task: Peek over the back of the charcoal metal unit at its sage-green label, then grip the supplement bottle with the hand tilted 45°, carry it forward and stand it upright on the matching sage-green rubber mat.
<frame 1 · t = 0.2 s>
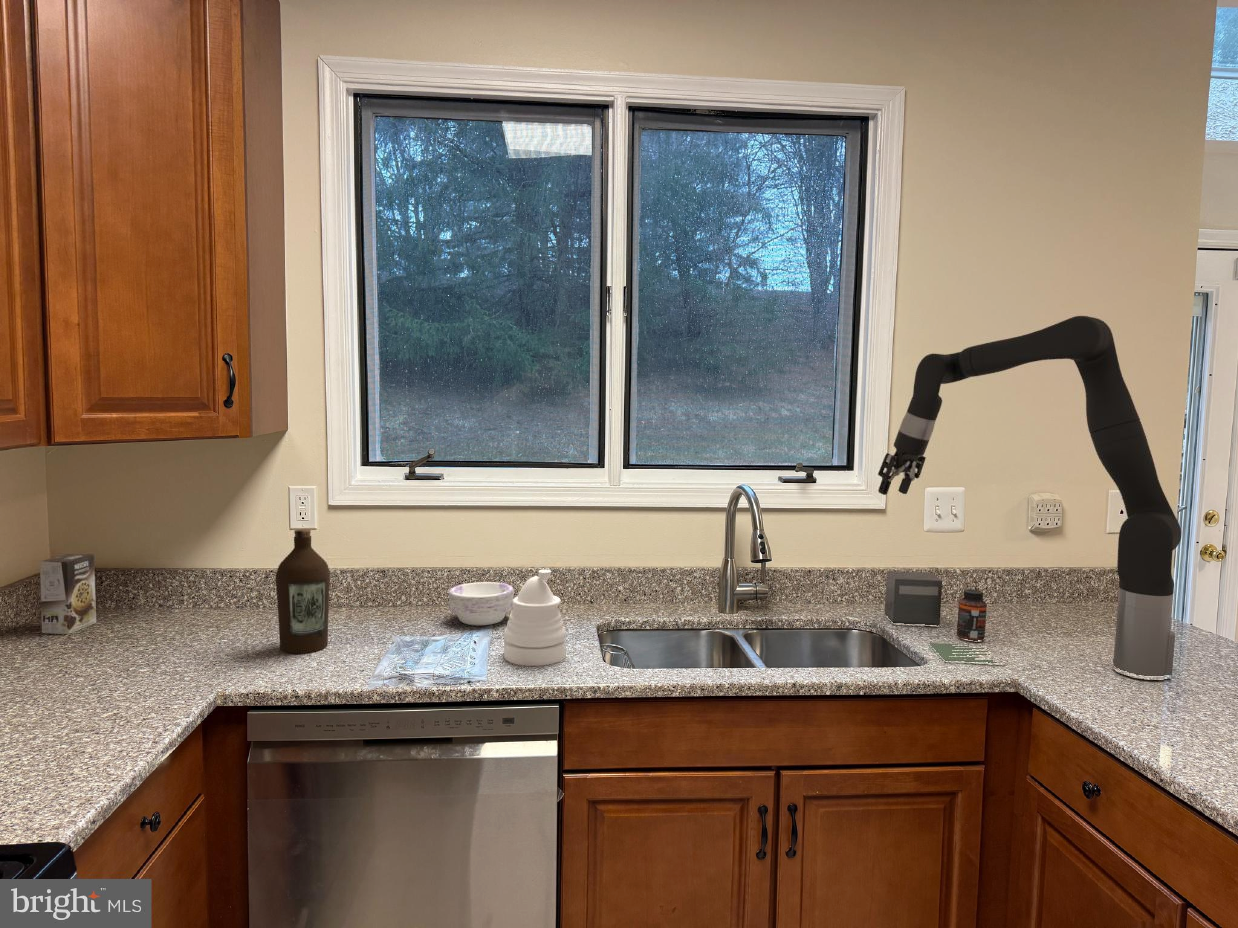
hand: (892, 493, 202), 31 cm above the worktop, tool tilted 20°, fingers open, 8 cm apart
charcoal unit: (911, 621, 199), on the worktop
supplement bottle: (970, 640, 185), on the worktop
coffee box: (70, 629, 179), on the worktop
honey pot: (534, 656, 167), on the worktop
sage mat: (965, 655, 173), on the worktop
white and purple bowl: (481, 621, 192), on the worktop
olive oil: (303, 648, 169), on the worktop
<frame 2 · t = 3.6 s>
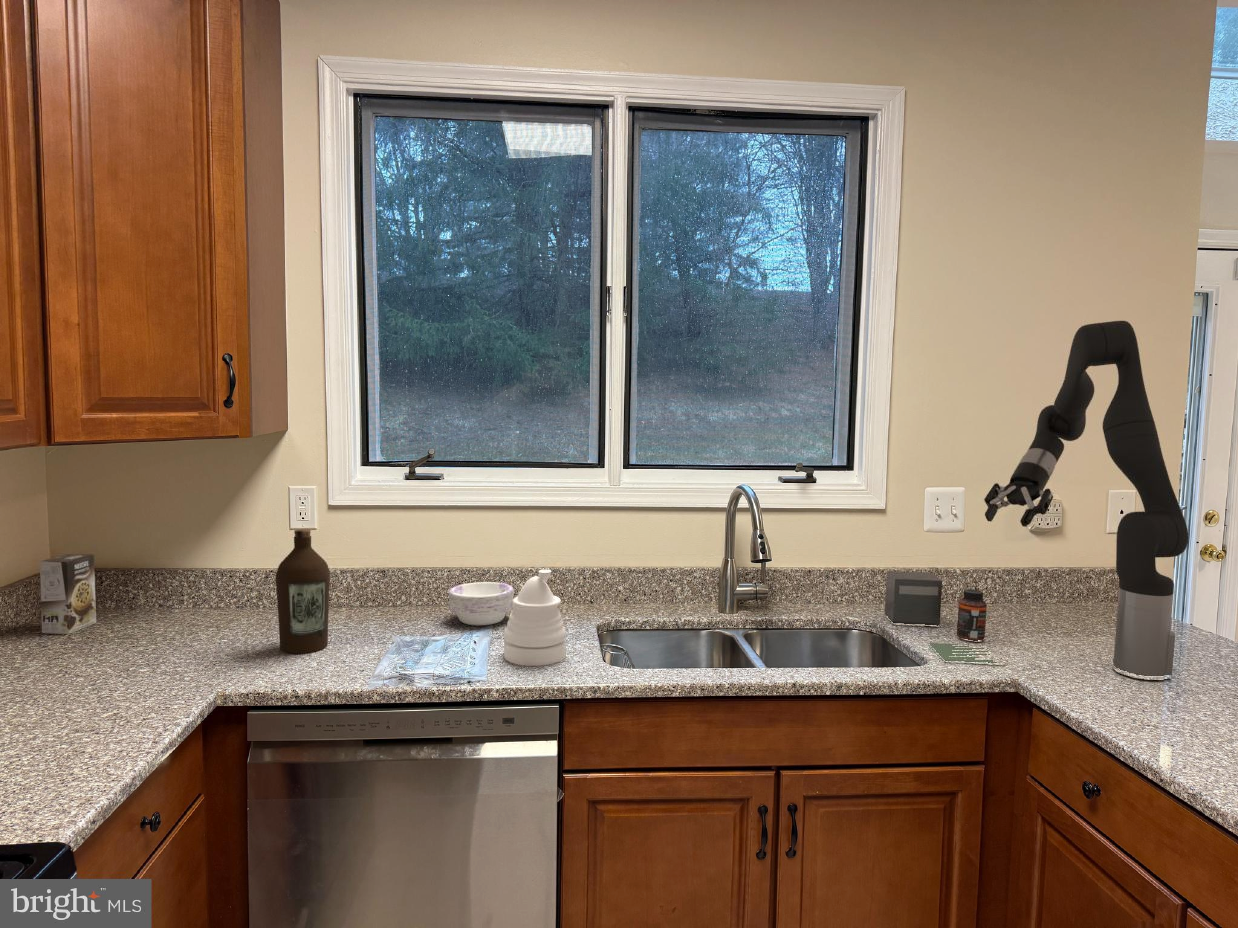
hand: (1005, 521, 189), 26 cm above the worktop, tool tilted 45°, fingers open, 8 cm apart
nothing on the worktop moved.
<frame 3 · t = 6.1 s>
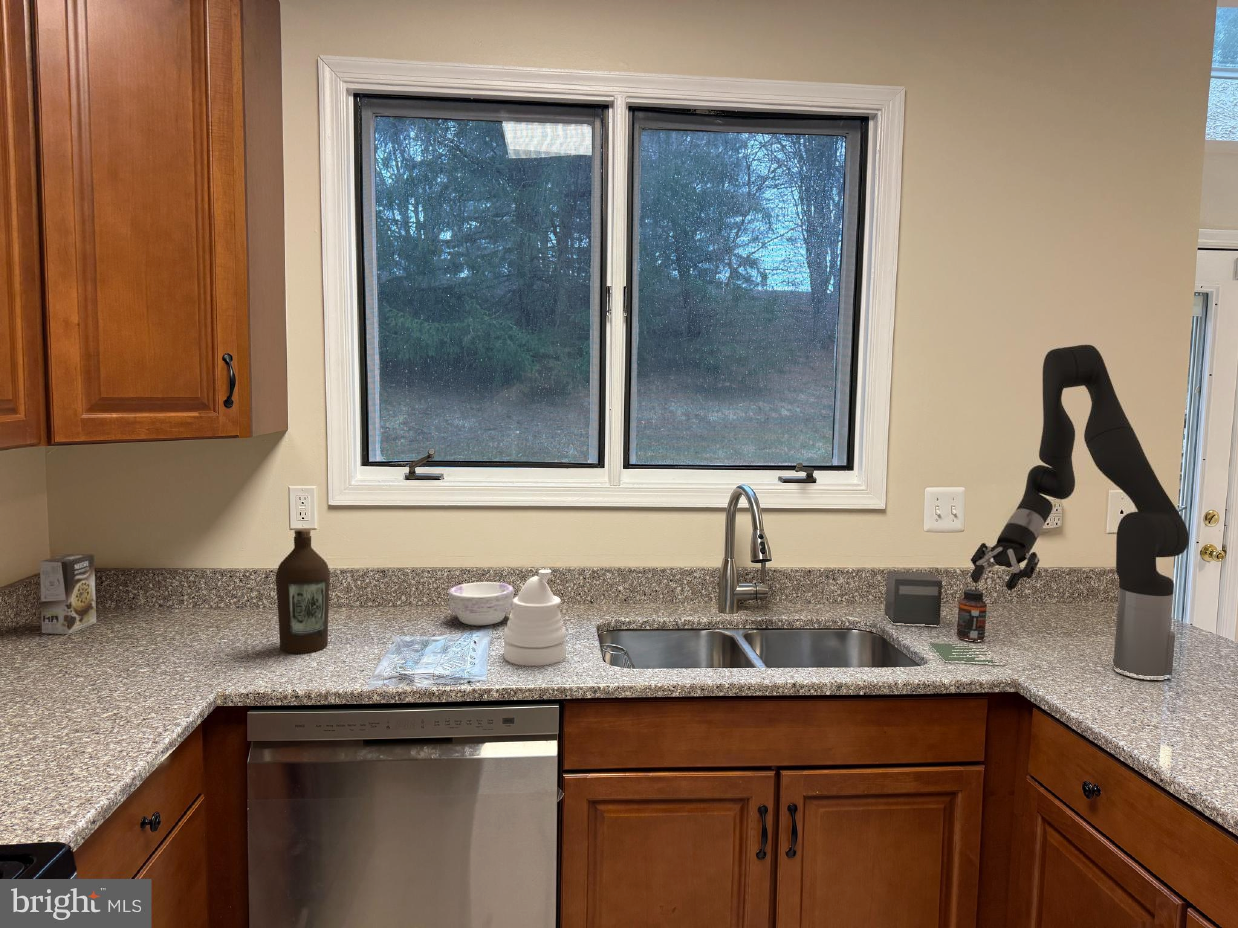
hand: (990, 584, 187), 12 cm above the worktop, tool tilted 45°, fingers open, 8 cm apart
nothing on the worktop moved.
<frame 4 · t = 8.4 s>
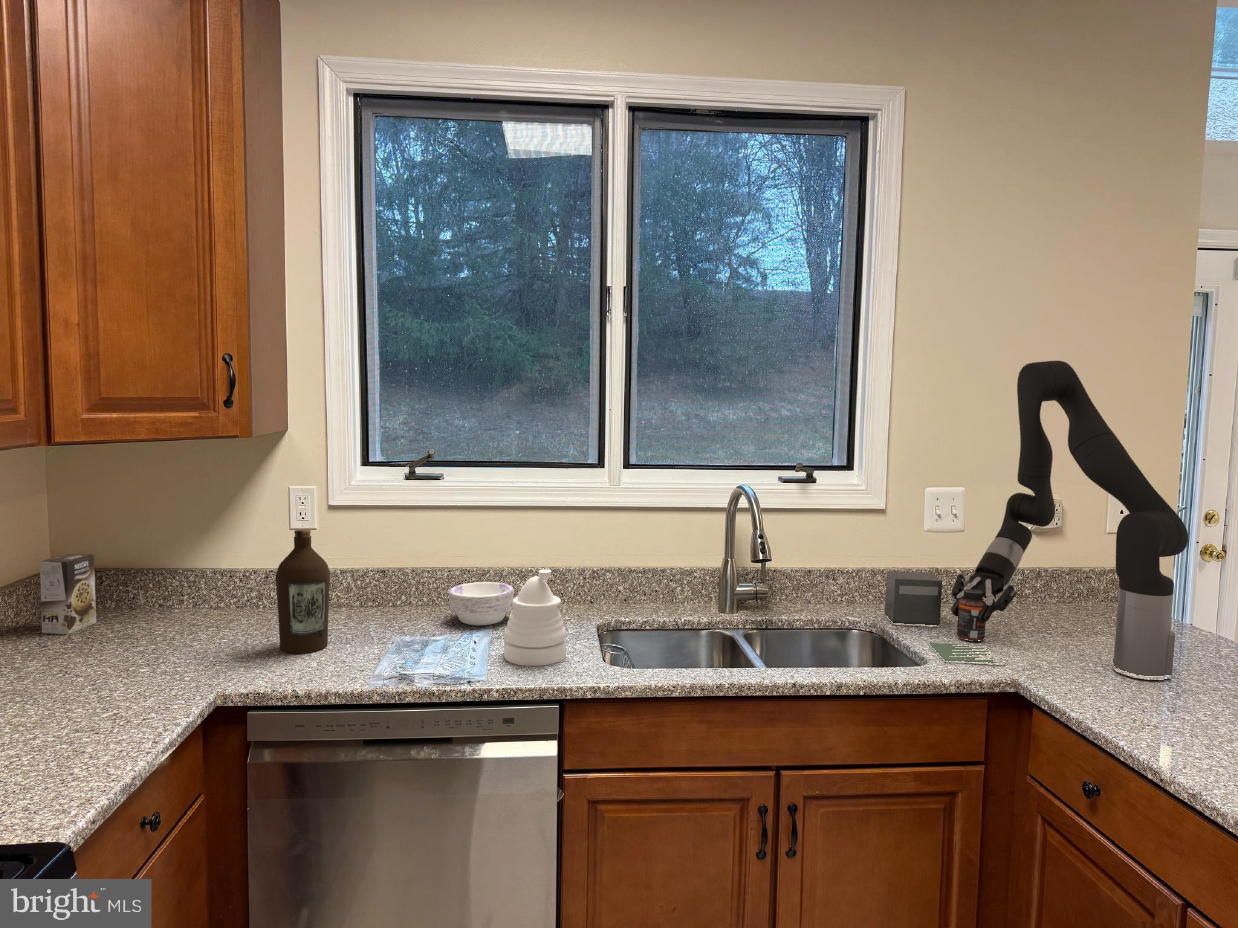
hand: (967, 617, 183), 5 cm above the worktop, tool tilted 45°, fingers closed on supplement bottle, 6 cm apart
supplement bottle: (970, 639, 185), on the worktop, touching gripper
everything else where it was.
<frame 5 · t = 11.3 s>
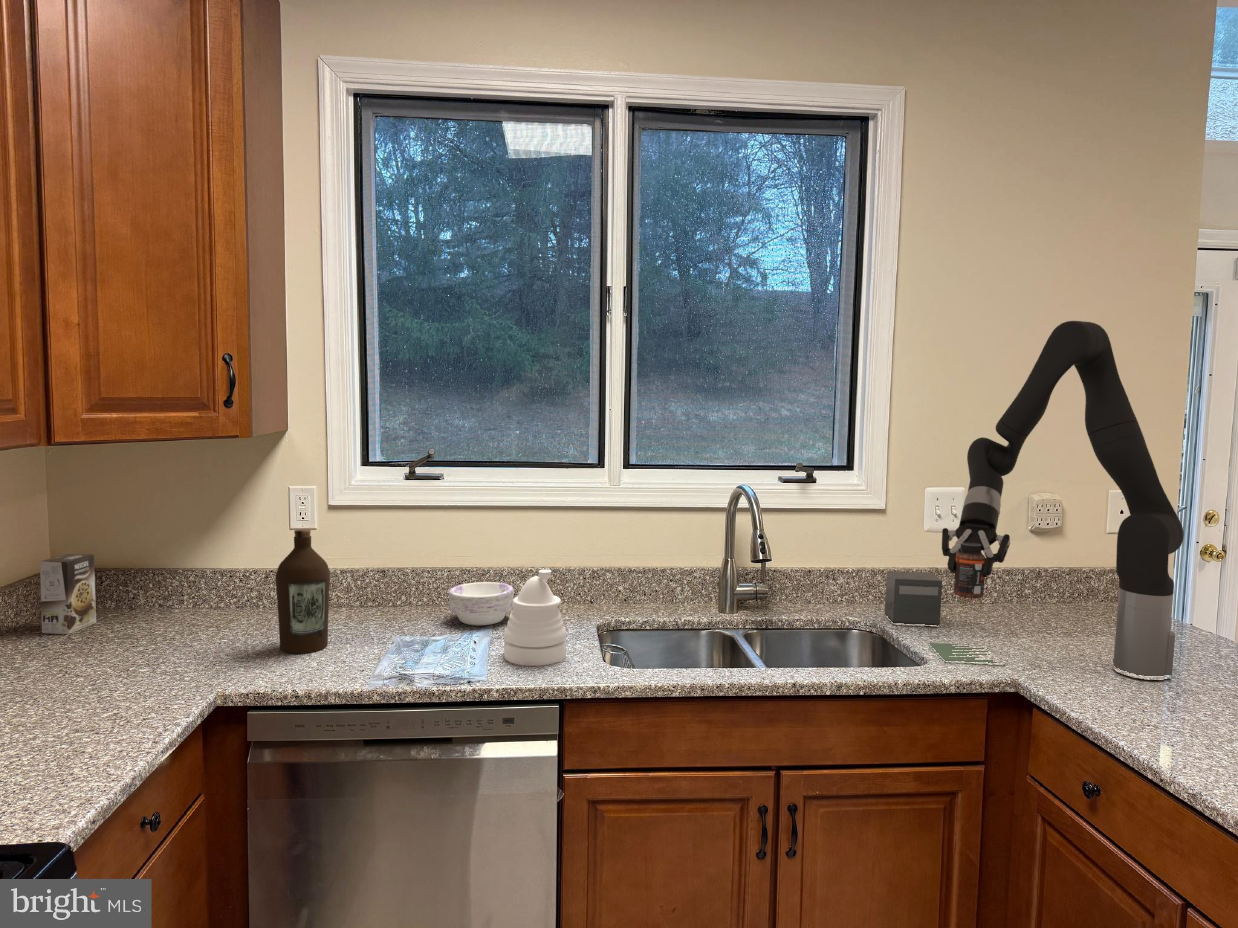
hand: (968, 572, 171), 18 cm above the worktop, tool tilted 45°, fingers closed on supplement bottle, 6 cm apart
supplement bottle: (968, 596, 173), point 13 cm above the worktop, touching gripper
everything else where it was.
when the fingers open (7 cm above the worktop, at t = 14.0 s): supplement bottle drops 1 cm, resting on sage mat.
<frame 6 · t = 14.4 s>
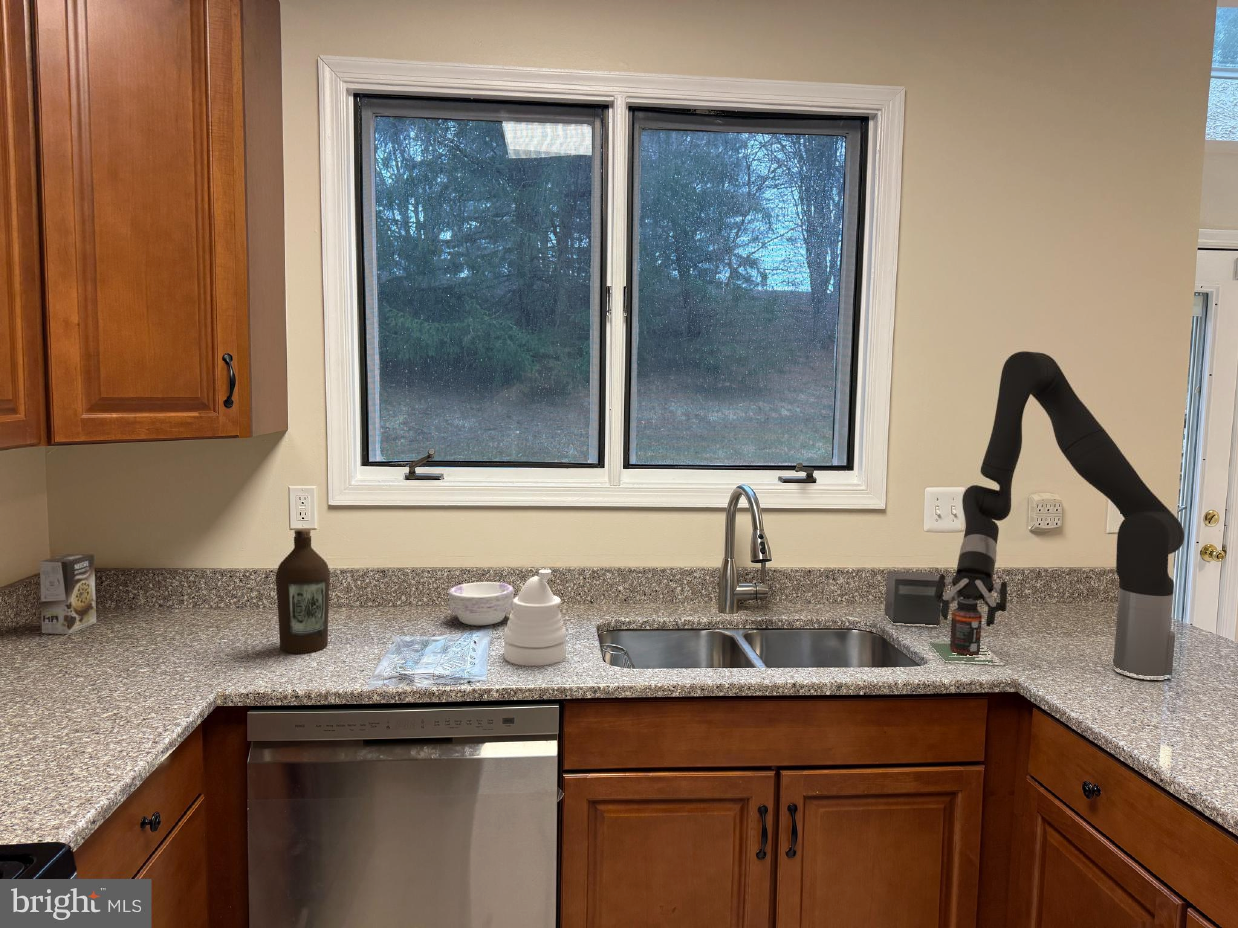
hand: (966, 621, 171), 8 cm above the worktop, tool tilted 45°, fingers open, 8 cm apart
supplement bottle: (964, 652, 173), resting on sage mat
everything else where it was.
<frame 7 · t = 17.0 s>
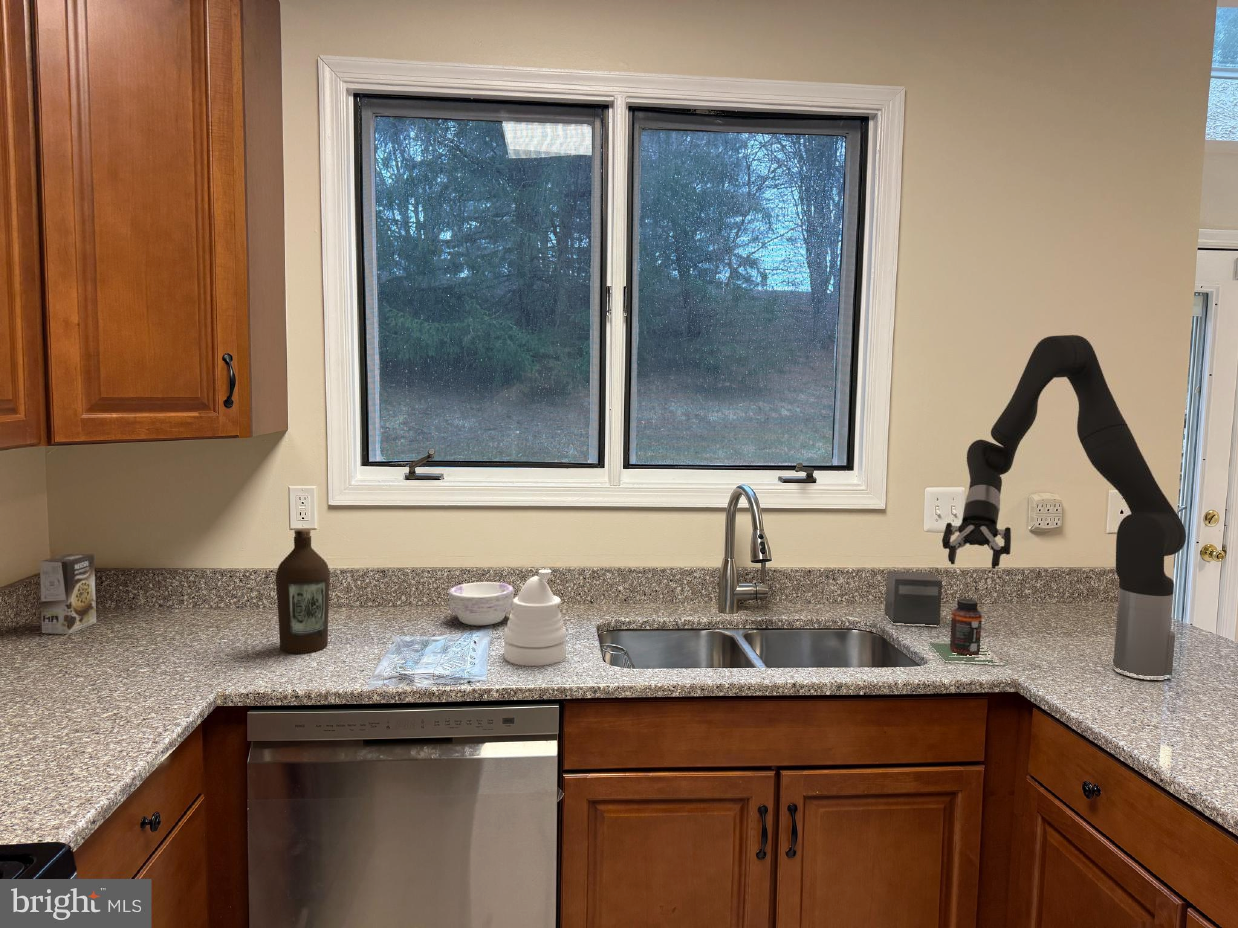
hand: (972, 564, 180), 18 cm above the worktop, tool tilted 45°, fingers open, 8 cm apart
nothing on the worktop moved.
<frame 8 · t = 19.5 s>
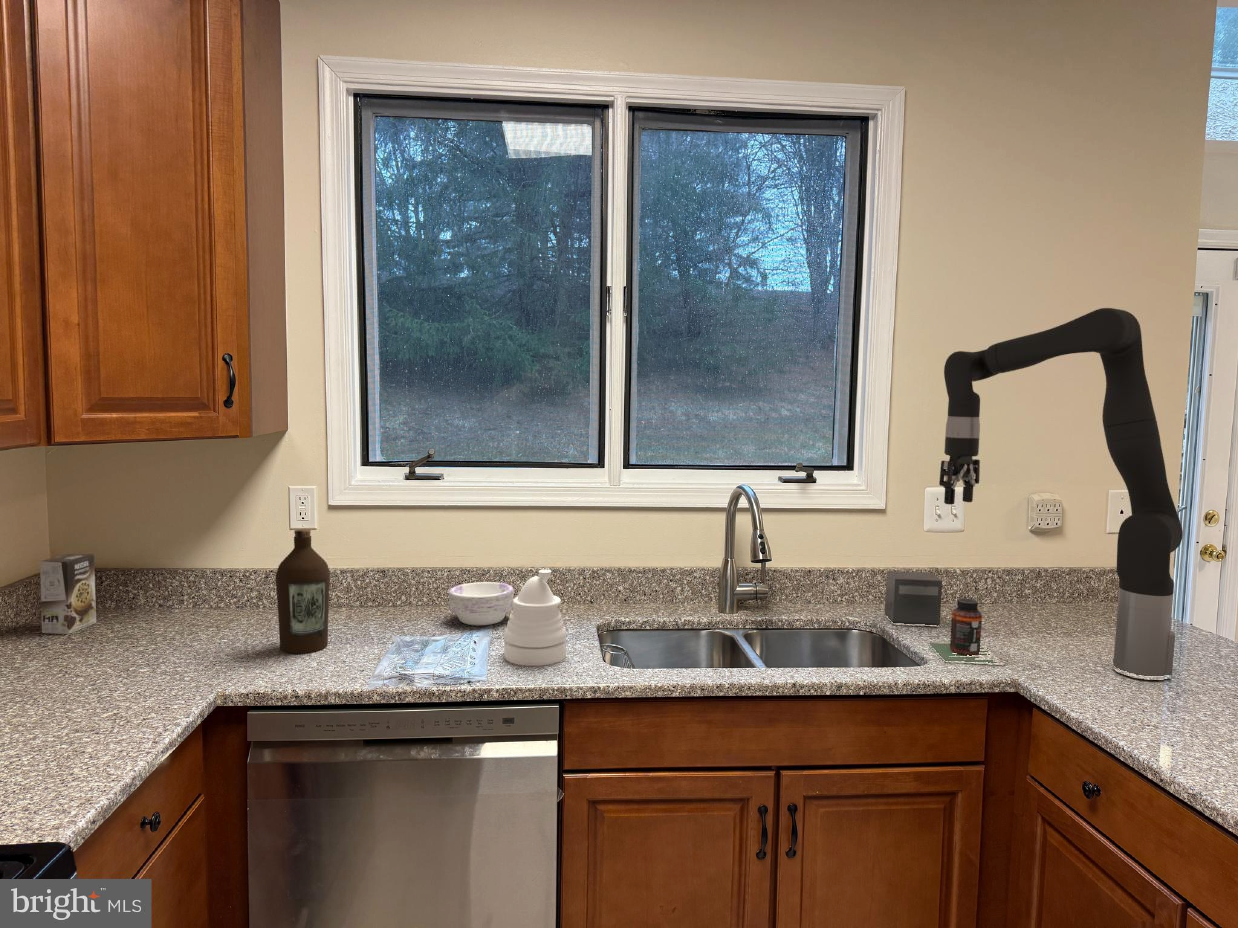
hand: (958, 503, 193), 30 cm above the worktop, tool pointing down, fingers open, 8 cm apart
nothing on the worktop moved.
at the end: supplement bottle inside the target area on the sage mat (0.2 cm from its centre), point 0.4 cm above the sage mat's base; supplement bottle tilted 0°; the gripper is holding nothing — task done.
